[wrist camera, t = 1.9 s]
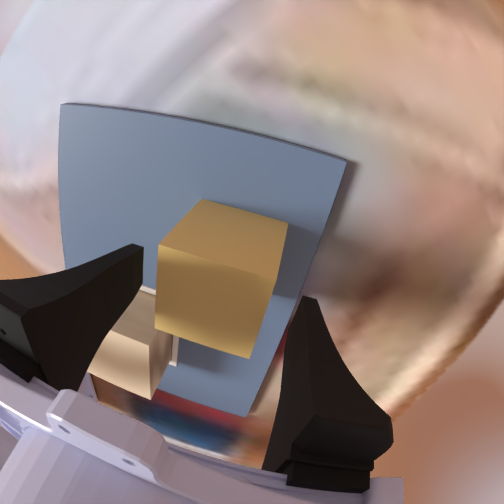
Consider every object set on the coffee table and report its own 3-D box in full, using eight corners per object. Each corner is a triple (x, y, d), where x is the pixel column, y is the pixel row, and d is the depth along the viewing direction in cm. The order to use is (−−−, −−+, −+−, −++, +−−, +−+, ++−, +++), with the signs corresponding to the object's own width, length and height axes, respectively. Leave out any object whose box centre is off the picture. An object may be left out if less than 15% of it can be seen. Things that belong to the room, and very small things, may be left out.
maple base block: (170, 359, 23) (150, 399, 19) (103, 332, 23) (78, 367, 19) (175, 302, 19) (148, 345, 16) (96, 273, 20) (63, 308, 16)
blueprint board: (247, 412, 25) (245, 418, 25) (86, 351, 26) (82, 356, 25) (345, 159, 14) (347, 162, 13) (67, 102, 15) (59, 104, 14)
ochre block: (266, 293, 18) (249, 359, 14) (190, 270, 18) (154, 328, 14) (288, 223, 16) (276, 279, 11) (201, 198, 16) (158, 244, 11)
